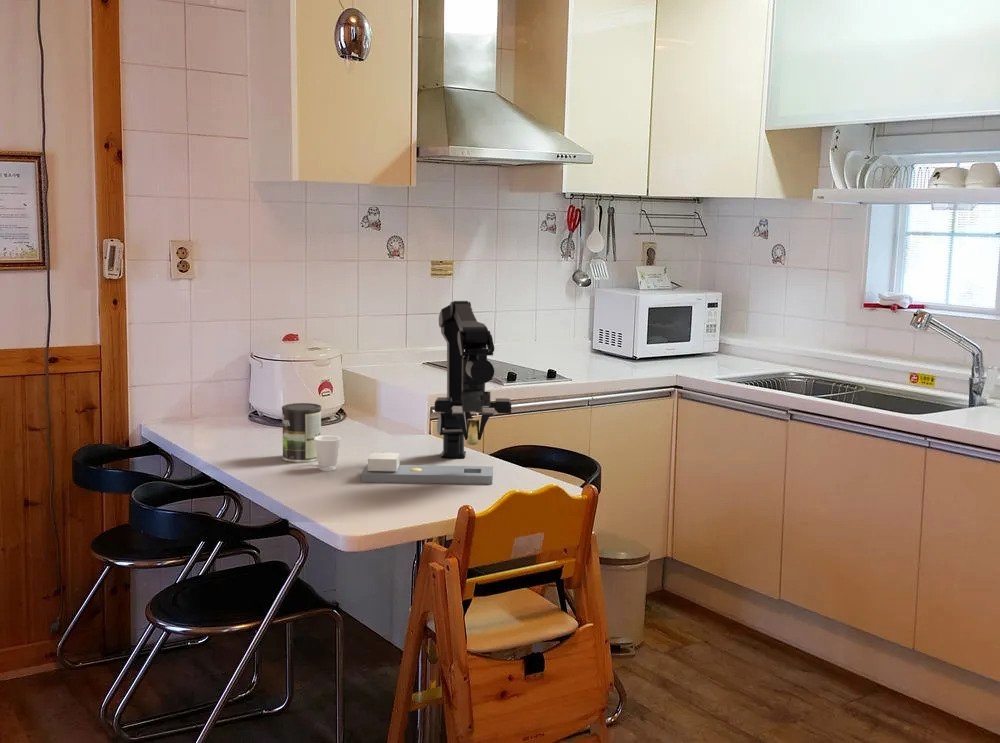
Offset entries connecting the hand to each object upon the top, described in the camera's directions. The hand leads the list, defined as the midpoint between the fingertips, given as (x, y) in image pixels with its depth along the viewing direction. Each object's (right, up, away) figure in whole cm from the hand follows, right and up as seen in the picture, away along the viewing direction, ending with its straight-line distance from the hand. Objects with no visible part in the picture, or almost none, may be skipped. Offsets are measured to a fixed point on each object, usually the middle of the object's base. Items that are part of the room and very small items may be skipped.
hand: (472, 439), depth 254 cm
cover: (-22, -7, +1) cm, 23 cm away
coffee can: (-46, -7, +20) cm, 51 cm away
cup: (-38, -8, +11) cm, 40 cm away
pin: (0, -1, 0) cm, 1 cm away
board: (-11, -10, +1) cm, 15 cm away
